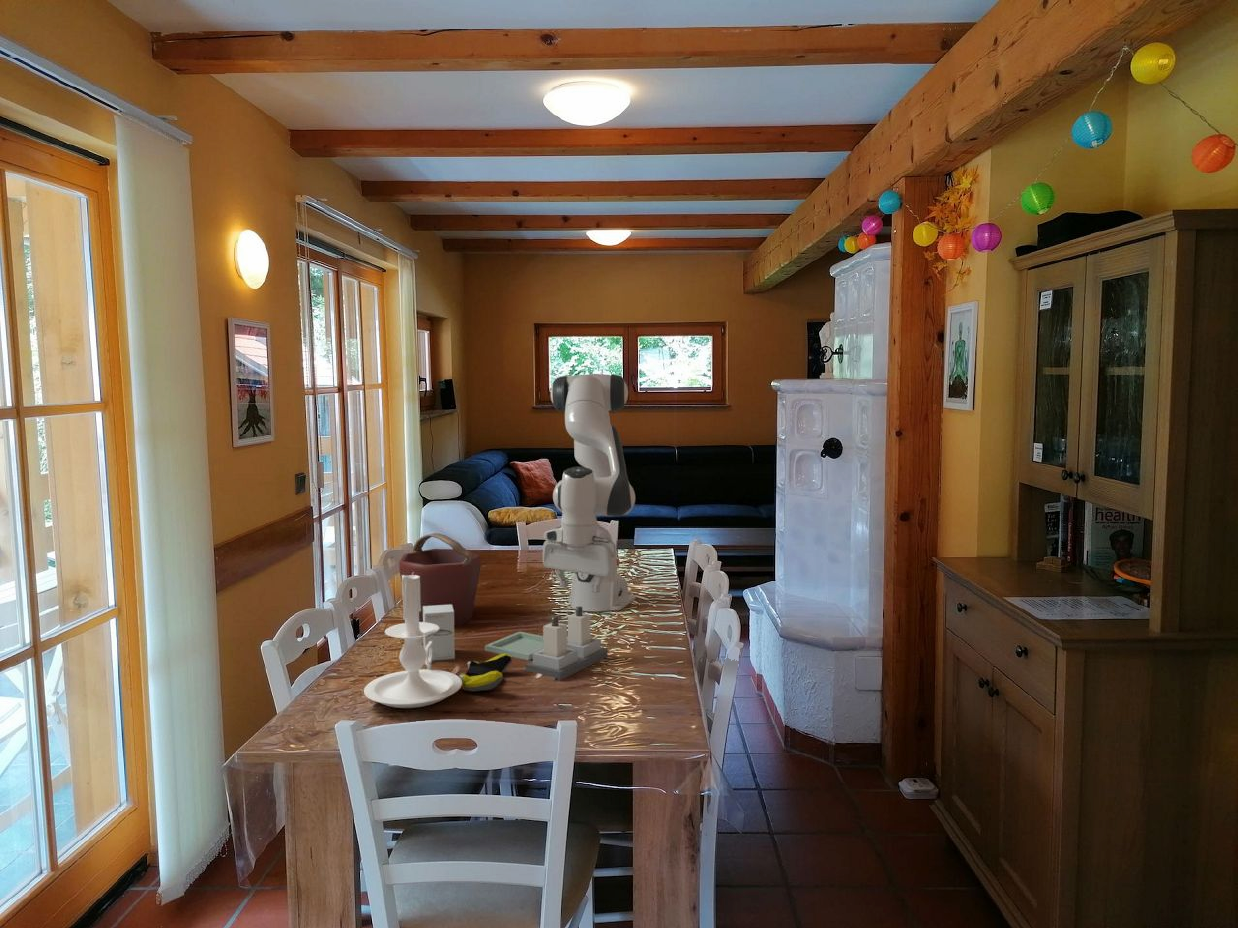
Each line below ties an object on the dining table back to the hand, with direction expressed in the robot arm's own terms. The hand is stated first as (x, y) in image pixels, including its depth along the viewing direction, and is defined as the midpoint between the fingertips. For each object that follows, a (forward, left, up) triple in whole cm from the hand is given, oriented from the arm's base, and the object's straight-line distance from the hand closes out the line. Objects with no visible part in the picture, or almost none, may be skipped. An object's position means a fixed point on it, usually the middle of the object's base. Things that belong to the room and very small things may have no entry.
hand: (579, 589), depth 206 cm
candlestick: (+39, -16, -18) cm, 46 cm away
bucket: (-5, -53, -18) cm, 56 cm away
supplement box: (+18, -30, -18) cm, 39 cm away
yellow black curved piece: (+26, -8, -18) cm, 33 cm away
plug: (0, 0, -15) cm, 15 cm away
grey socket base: (+5, 0, -17) cm, 18 cm away
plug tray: (+2, -16, -17) cm, 24 cm away
